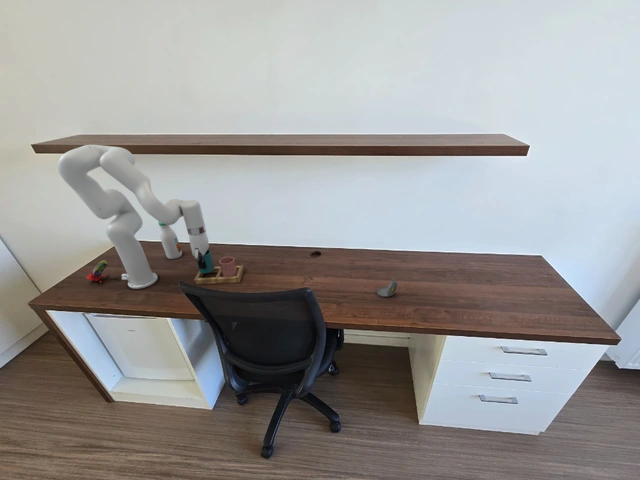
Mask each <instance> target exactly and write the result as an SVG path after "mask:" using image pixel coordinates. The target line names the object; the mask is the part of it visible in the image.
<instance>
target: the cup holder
mask: <svg viewBox="0 0 640 480" xmlns="http://www.w3.org/2000/svg"><path fill="white" fill-rule="evenodd" d="M236 270H237V276H234V277H223V275H222V271H221V267H220V266H214V270H213V271H212V272H209V273H208V274H216V273H217V274H216V276H215V277H213V276H212V277H203V276H204V275H205V273H201V272H200V271H199V270H198V272H197V274H196V276H195V277H194V279H193V281H194V284H195V285H210V284H211V285H213V284H214V285H215V284H233V283H235V284H237V283H240V282H241V280H242V277H243V273H244V272H245V267H244V265H236Z"/></svg>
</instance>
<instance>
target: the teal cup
mask: <svg viewBox="0 0 640 480" xmlns="http://www.w3.org/2000/svg"><path fill="white" fill-rule="evenodd" d="M199 255H202V254H201V253H199ZM199 258H201V259H202V256H199ZM204 261H205V263H206V267H207V268H206V269H199V265H198V262H197V261H196V265H197V267H198V272H199V271H200V272H201V273H204V274H210V273H209V272H212V271H213V270H214V267H215V264H214V261H213V256H212V252H211V250H210V249H209V250H207V251H206V253H205V255H204Z"/></svg>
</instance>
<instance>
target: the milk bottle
mask: <svg viewBox="0 0 640 480" xmlns="http://www.w3.org/2000/svg"><path fill="white" fill-rule="evenodd" d="M157 222H158V223H157V224H158V225H159V228H160V232H159V237H160V242H161V244H162V247H163V250H164V253H165V256H166V258H167V259H169V260H174V259H175V260H176V259H179V258H181V257H182V255H183V252H182V248H181V245H180V242H179V239H178V236H177V234H176V232H175V231H174V230H173V229H172V228H171V225H166V224H163V223H161V222H159V221H157Z"/></svg>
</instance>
